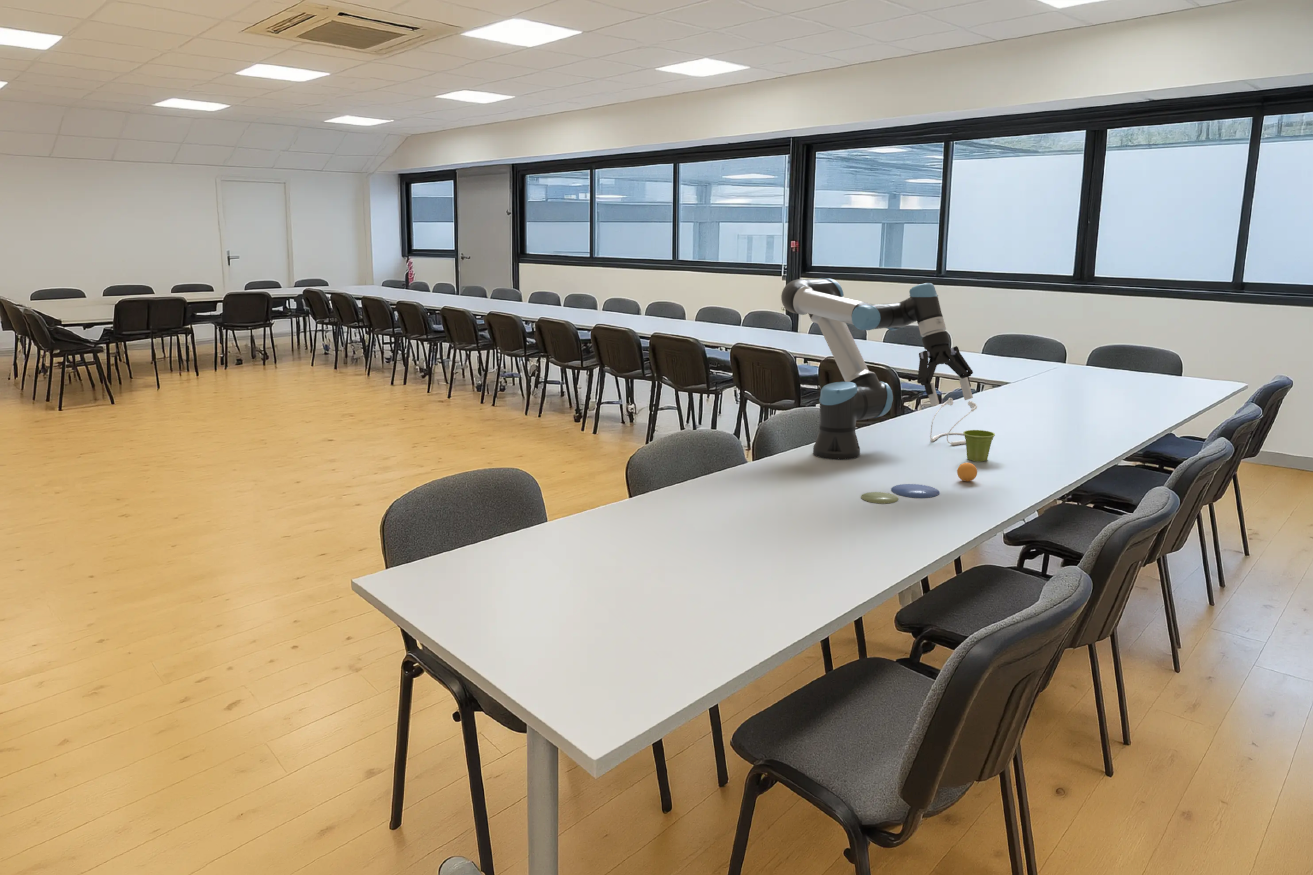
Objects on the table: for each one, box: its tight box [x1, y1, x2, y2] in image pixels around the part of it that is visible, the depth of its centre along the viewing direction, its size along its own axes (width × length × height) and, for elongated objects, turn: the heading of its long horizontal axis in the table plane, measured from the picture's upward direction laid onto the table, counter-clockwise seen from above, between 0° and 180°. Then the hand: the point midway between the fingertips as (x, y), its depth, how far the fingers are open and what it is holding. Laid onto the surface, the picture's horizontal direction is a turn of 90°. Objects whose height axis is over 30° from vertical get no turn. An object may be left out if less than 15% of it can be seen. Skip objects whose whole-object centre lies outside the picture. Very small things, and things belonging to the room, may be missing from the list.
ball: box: [956, 462, 978, 482], centre depth 248 cm, size 6×6×6 cm
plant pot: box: [962, 429, 996, 463], centre depth 271 cm, size 9×9×9 cm
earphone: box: [929, 397, 978, 446], centre depth 298 cm, size 14×17×18 cm
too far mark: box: [860, 491, 900, 505], centre depth 234 cm, size 10×10×1 cm
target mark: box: [890, 483, 940, 499], centre depth 240 cm, size 13×13×1 cm
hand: (952, 402), depth 255 cm, fingers open, 13 cm apart
